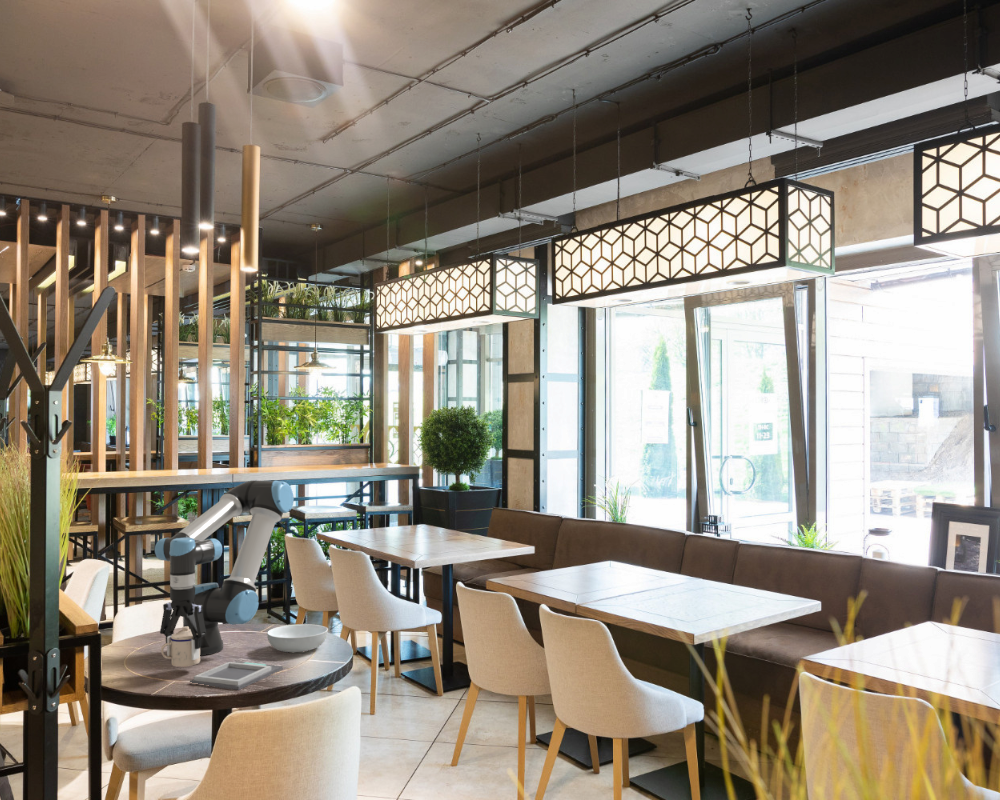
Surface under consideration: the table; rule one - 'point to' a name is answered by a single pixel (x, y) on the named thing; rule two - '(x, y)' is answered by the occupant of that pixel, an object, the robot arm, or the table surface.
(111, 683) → the table surface
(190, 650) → the teacup with lid
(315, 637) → the serving bowl
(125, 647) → the table surface
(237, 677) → the base
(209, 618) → the robot arm
